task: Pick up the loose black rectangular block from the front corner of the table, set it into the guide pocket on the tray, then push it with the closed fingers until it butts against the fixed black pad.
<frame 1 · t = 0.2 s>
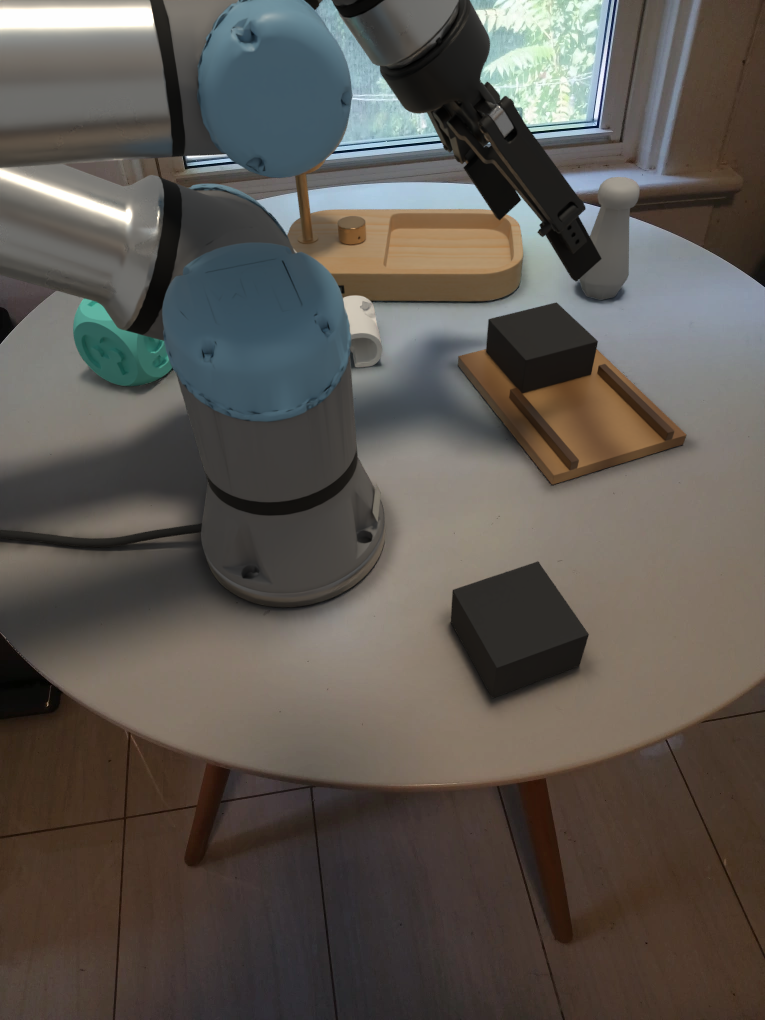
hand: (545, 237, 66), 15 cm above the table, tool tilted 35°, fingers open, 13 cm apart
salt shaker: (599, 292, 88), on the table
black rectangular block: (513, 643, 54), on the table
tray: (562, 402, 73), on the table
plastic part: (337, 351, 81), on the table
coffee mug: (216, 315, 87), on the table
lamp: (389, 268, 94), on the table
pad a: (537, 362, 76), resting on tray
decorative dice: (140, 367, 81), on the table
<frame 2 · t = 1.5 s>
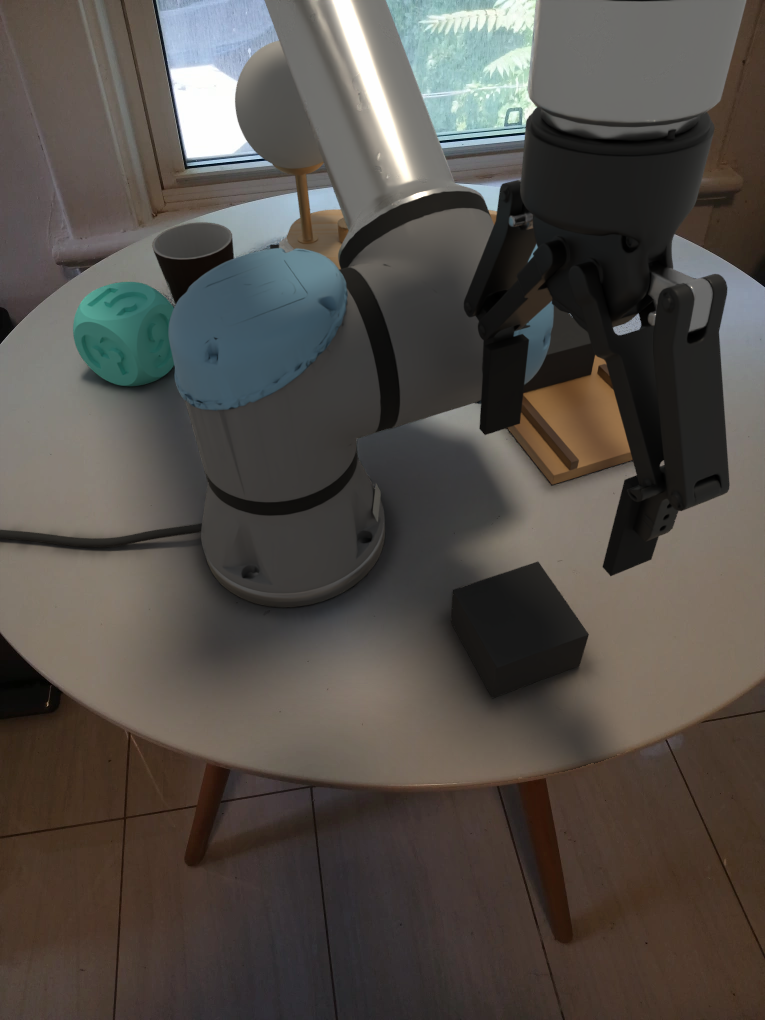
hand: (556, 488, 45), 14 cm above the table, tool pointing down, fingers open, 13 cm apart
nothing on the table moved.
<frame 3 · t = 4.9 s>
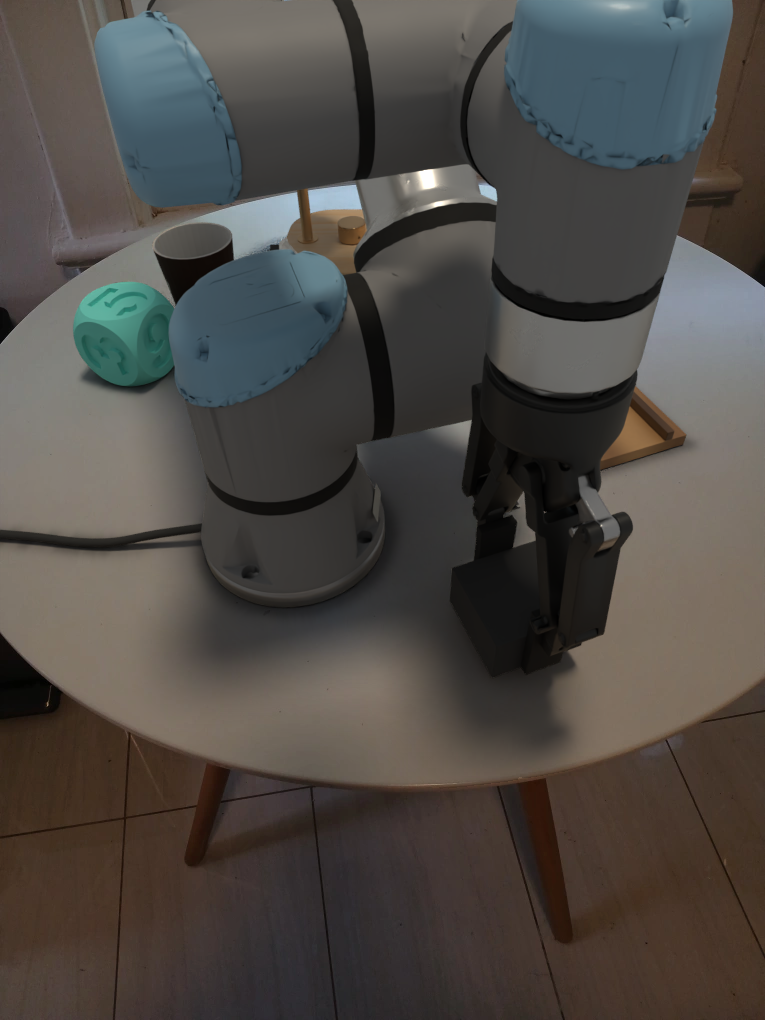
hand: (514, 620, 53), 2 cm above the table, tool pointing down, fingers closed on black rectangular block, 7 cm apart
black rectangular block: (513, 622, 53), point 2 cm above the table, touching gripper
everything else where it was.
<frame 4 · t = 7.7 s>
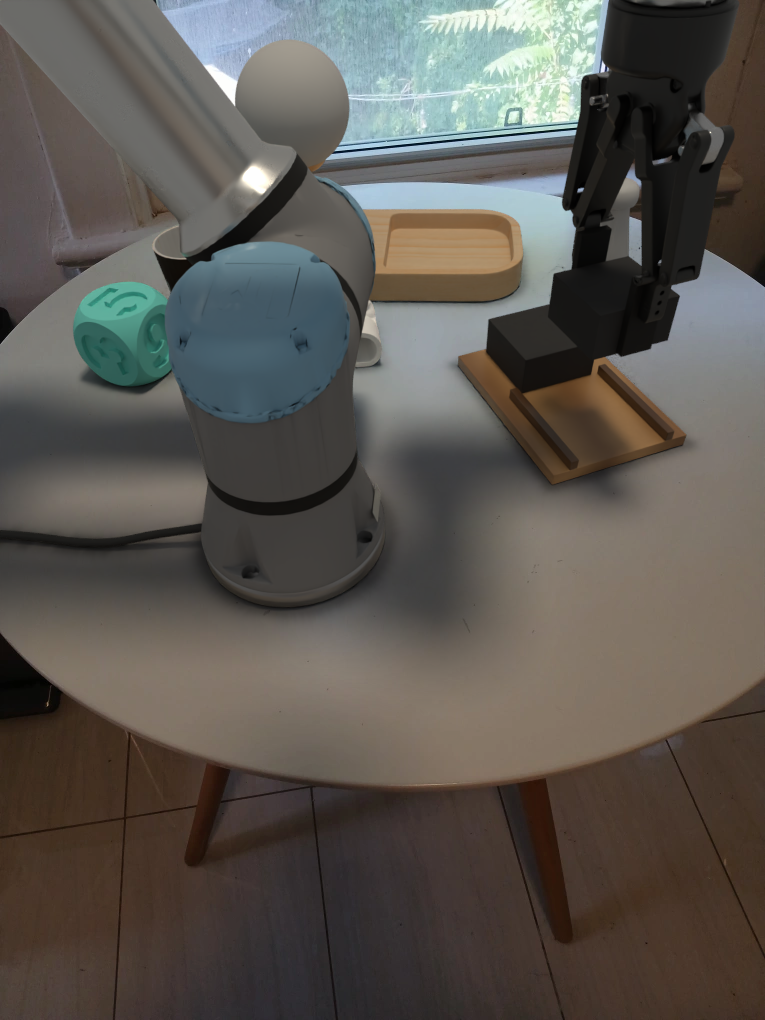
hand: (606, 325, 60), 13 cm above the table, tool pointing down, fingers closed on black rectangular block, 7 cm apart
black rectangular block: (606, 328, 60), point 12 cm above the table, touching gripper
everything else where it was.
when the fingers open (1 cm above the table, at t = 10.7 s): black rectangular block stays where it is, resting on tray.
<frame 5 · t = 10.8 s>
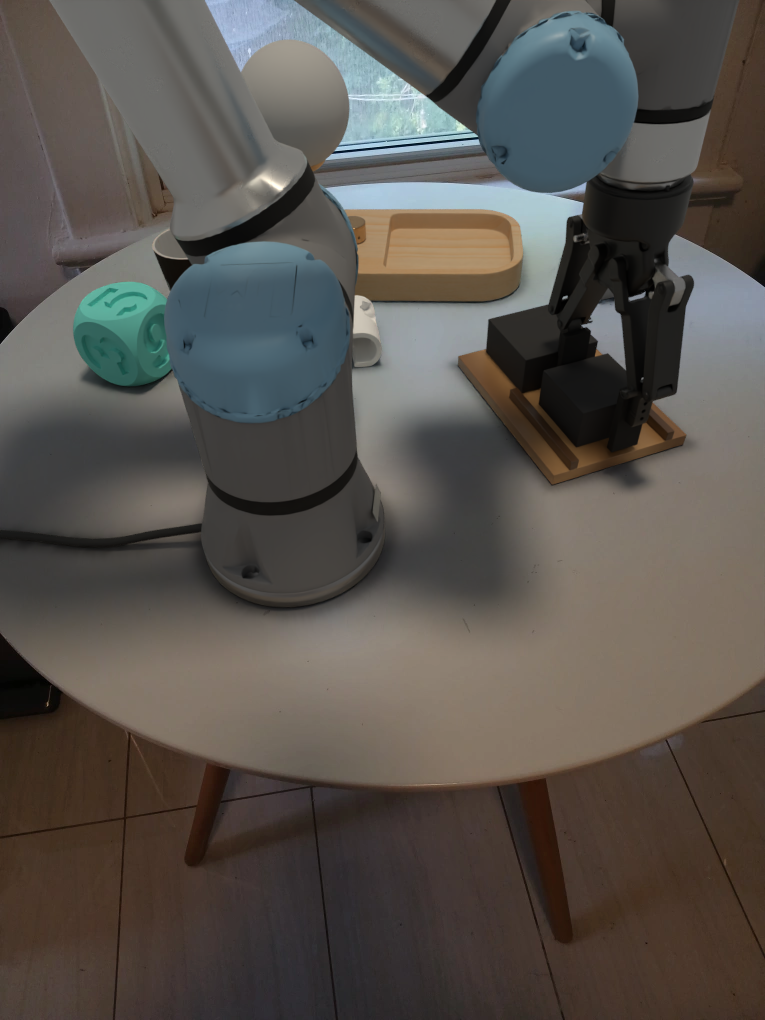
hand: (593, 416, 69), 2 cm above the table, tool pointing down, fingers open, 9 cm apart
black rectangular block: (588, 415, 70), point 1 cm above the table, touching tray
everything else where it was.
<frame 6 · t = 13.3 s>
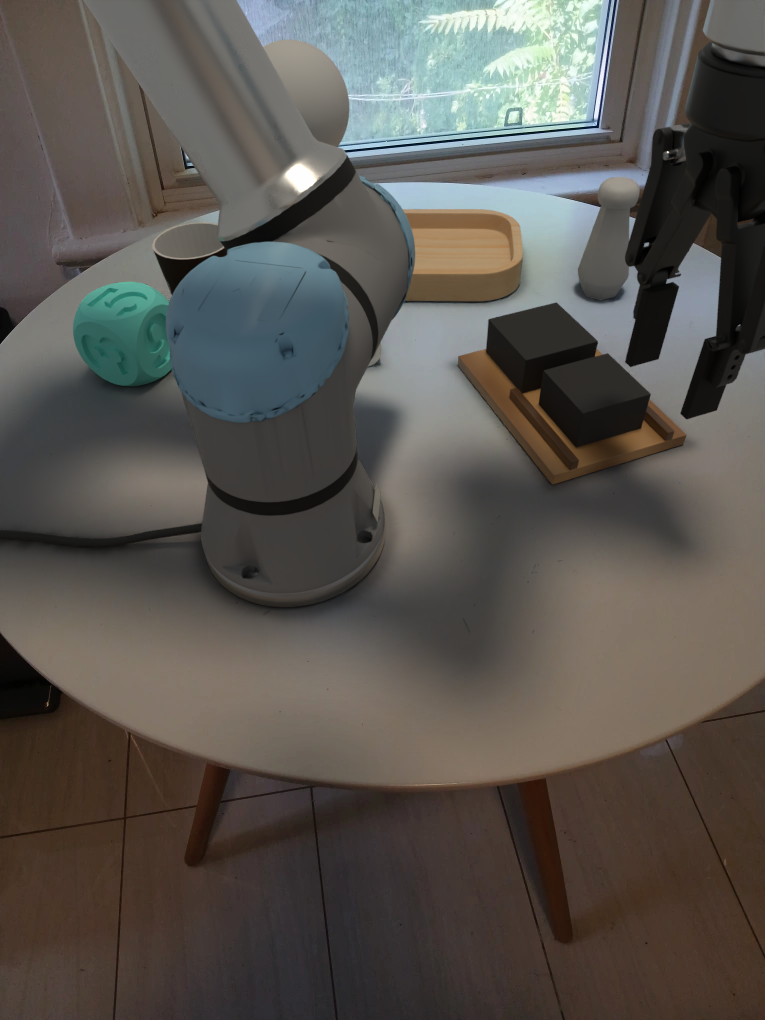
hand: (669, 384, 57), 11 cm above the table, tool pointing down, fingers open, 6 cm apart
nothing on the table moved.
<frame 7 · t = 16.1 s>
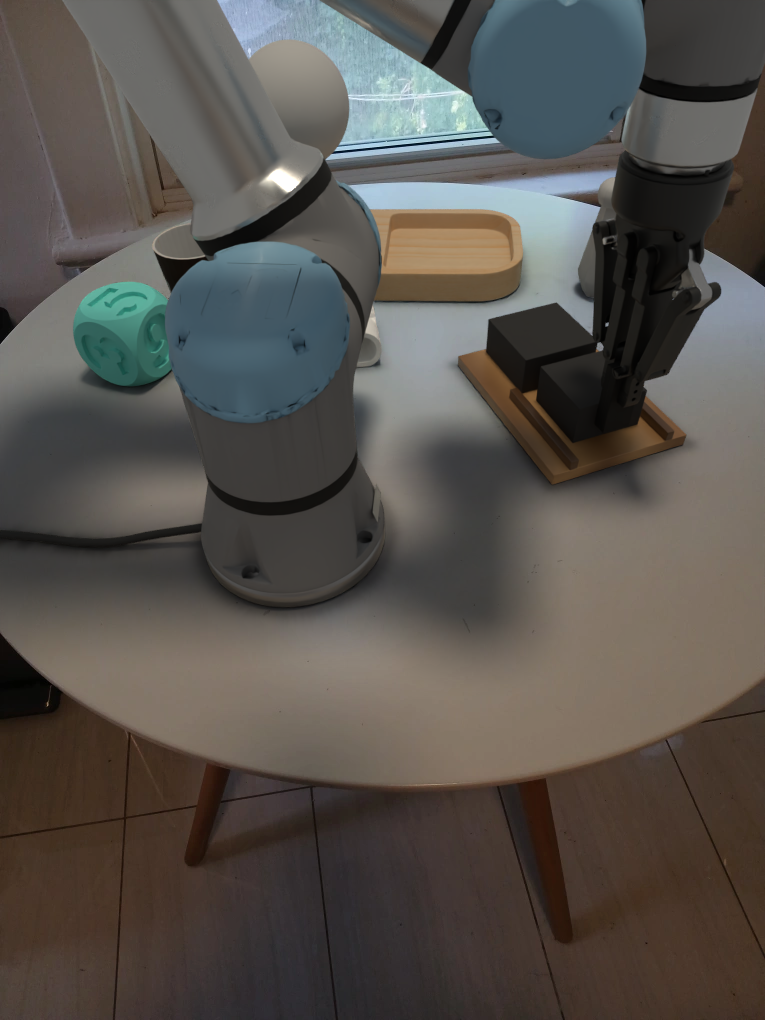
hand: (611, 424, 66), 3 cm above the table, tool pointing down, fingers closed
black rectangular block: (585, 412, 70), point 1 cm above the table, touching gripper
everything else where it was.
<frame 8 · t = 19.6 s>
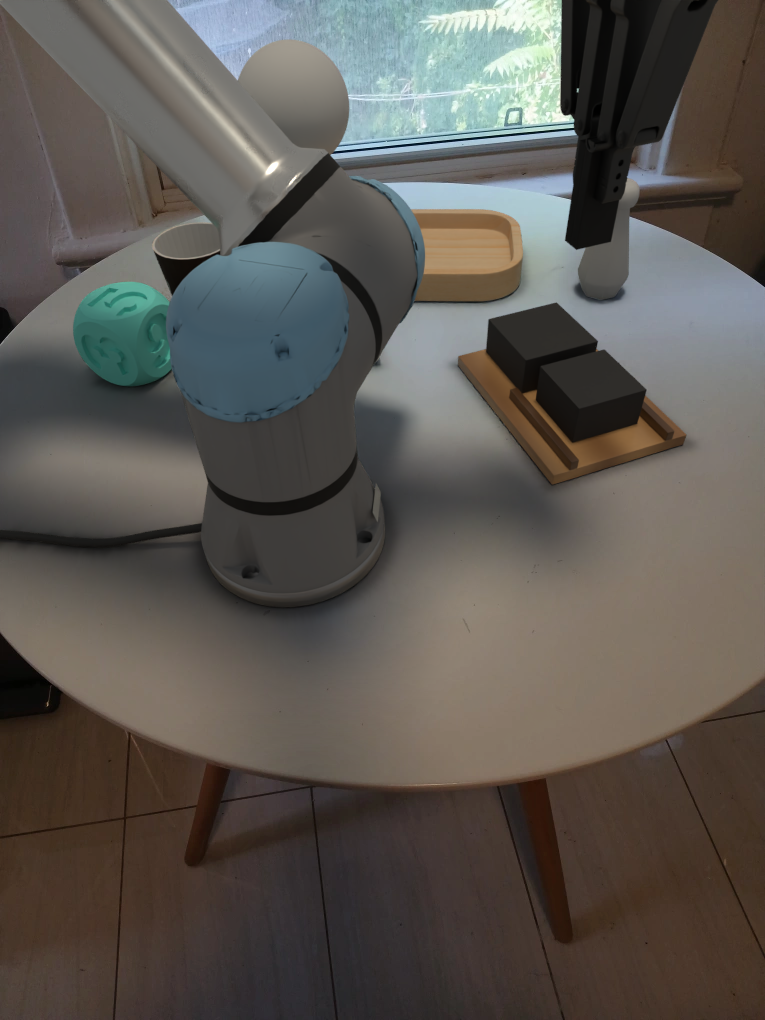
hand: (587, 240, 50), 22 cm above the table, tool pointing down, fingers closed
black rectangular block: (585, 411, 70), point 1 cm above the table, touching tray
everything else where it was.
at the end: black rectangular block 1.0 cm from the target spot on the tray, point 1.2 cm above the tray's base; black rectangular block 8.9 cm from the pad a (horizontally); black rectangular block tilted 0° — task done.
